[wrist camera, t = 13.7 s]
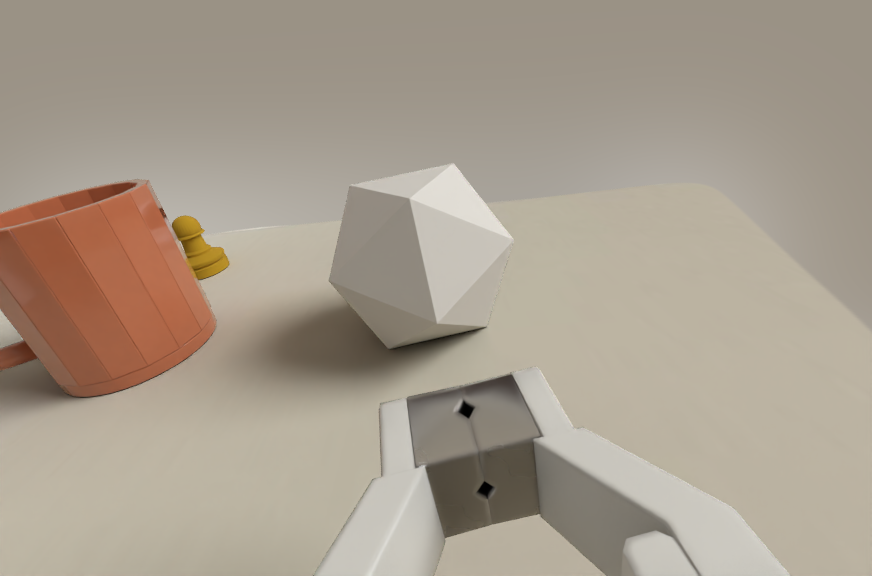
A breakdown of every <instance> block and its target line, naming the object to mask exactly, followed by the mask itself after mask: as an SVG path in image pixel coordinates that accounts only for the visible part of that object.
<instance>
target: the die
mask: <svg viewBox="0 0 872 576" xmlns="http://www.w3.org/2000/svg"><path fill="white" fill-rule="evenodd" d="M513 242H514V239H513V238H512V237H511V236H510V234H509V233H508V232H507V231H506V229H505V228H504V227H503V225H502V224H501V223H500V222H499V220H498V219H497V218H496V217H495V215H494V214H493V213H492V212H491V210H490V209H489V208H488V207H487V205H486V204H485V203H484V202H483V200H482V199H481V198H480V196H479V195H478V194H477V193H476V191H475V190H474V189H473V188H472V186H471V185H470V184H469V183H468V181H467V180H466V179H465V178H464V176H463V175H462V174H461V172H460V171H459V170H458V169H457V167H456V166H455V165H454V164H453V163H452V164H448V165H443V166H438V167H434V168H429V169H425V170H419V171H415V172H410V173H406V174H401V175H396V176H391V177H387V178H382V179H377V180H372V181H368V182H363V183H358V184H354V185H350V187H349V191H348V196H347V200H346V205H345V209H344V214H343V218H342V223H341V228H340V232H339V237H338V241H337V246H336V250H335V255H334V259H333V264H332V268H331V273H330V277H329V282H330V283H331V284H332V285H333V287H334V288H335V289H336V290H337V291H338V292H339V293H340V294H341V296H342V297H343V298H344V299H345V300H346V301H347V302H348V304H349V305H350V306H351V307H352V308H353V309H354V310H355V312H356V313H357V314H358V315H359V316H360V317H361V318H362V319H363V321H364V322H365V323H366V324H367V325H368V326H369V327H370V329H371V330H372V331H373V332H374V333H375V334H376V335H377V337H378V338H379V339H380V340H381V341H382V342H383V343H384V344H385V346H386V347H387V348H388V349H392V348H396V347H400V346H405V345H409V344H414V343H418V342H422V341H427V340H431V339H435V338H440V337H444V336H448V335H453V334H457V333H461V332H466V331H470V330H475V329H479V328H483V327H487V325H488V322H489V319H490V316H491V312H492V309H493V306H494V303H495V300H496V296H497V293H498V290H499V287H500V283H501V280H502V277H503V274H504V271H505V267H506V264H507V261H508V258H509V255H510V251H511V248H512V245H513Z"/></svg>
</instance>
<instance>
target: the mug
mask: <svg viewBox="0 0 872 576" xmlns="http://www.w3.org/2000/svg"><path fill="white" fill-rule="evenodd" d="M0 309H1V311H2V312H3V313H4V315H5V316H6V317H7V319H8V320H9V321H10V322H11V324H12V325H13V326H14V328H15V329H16V330H17V332H18V333H19V334H20V335H21V337H22V338H23V339H24V341H21V342H18V343H15V344H12V345H9V346H6V347H3V348H0V371H3V370H6V369H9V368H12V367H15V366H17V365H20V364H23V363H26V362H29V361H32V360H34V359H37V358H38V359H39V360H40V361H41V363H42V364H43V365H44V367H45V368H46V369H47V370H48V372H49V373H50V374H51V376H52V377H53V378H54V380H55V381H56V382H57V383H58V384H59V386H60V387H61V388H62V389H63V391H64V392H66V393H67V394H69V395H72V396H77V397H91V396H98V395H104V394H108V393H113V392H116V391H120V390H123V389H126V388H129V387H131V386H134V385H137V384H139V383H142V382H144V381H146V380H149V379H151V378H153V377H155V376H157V375H159V374H161V373H163V372H165V371H167V370H168V369H170V368H172V367H174V366H175V365H177V364H178V363H180V362H182V361H183V360H184V359H186V358H187V357H189V356H190V355H191V354H193V353H194V352H195V351H197V350H198V349H199V348H200V347H201V346H202V345H203V344H204V343H205V342H206V341H207V340H208V339H209V338H210V336H211V335H212V334H213V332H214V330H215V327H216V321H217V320H216V317H215V315H214V313H213V311H212V309H211V305H210V303H209V301H208V299H207V297H206V295H205V293H204V291H203V289H202V287H201V285H200V283H199V281H198V279H197V276H196V274H195V272H194V270H193V268H192V266H191V264H190V262H189V260H188V258H187V256H186V254H185V252H184V250H183V248H182V246H181V244H180V242H179V240H178V238H177V236H176V234H175V232H174V230H173V228H172V226H171V224H170V222H169V220H168V218H167V216H166V214H165V212H164V210H163V208H162V206H161V204H160V202H159V200H158V198H157V196H156V194H155V192H154V190H153V188H152V186H151V184H150V182H149V181H148V180H142V179H141V180H140V179H135V180H128V181H120V182H115V183H110V184H105V185H100V186H95V187H91V188H86V189H82V190H78V191H74V192H70V193H66V194H62V195H58V196H54V197H51V198H47V199H43V200H40V201H37V202H33V203H29V204H26V205H23V206H19V207H16V208H13V209H10V210H7V211H3V212H0Z"/></svg>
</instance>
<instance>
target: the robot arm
mask: <svg viewBox="0 0 872 576" xmlns="http://www.w3.org/2000/svg"><path fill="white" fill-rule="evenodd" d="M379 428H380V454H381V477H378V478H374V479H372V481H371V483H370V484H369V486H368V487H367V489H366V491H365V492H364V494H363V496H362V497H361V499H360V500H359V502H358V504H357V505H356V507H355V508H354V510H353V512H352V513H351V515H350V516H349V518H348V520H347V521H346V523H345V525H344V526H343V528H342V529H341V531H340V533H339V534H338V536H337V537H336V539H335V541H334V542H333V544H332V546H331V547H330V549H329V550H328V552H327V554H326V555H325V557H324V558H323V560H322V562H321V563H320V565H319V566H318V568H317V570H316V571H315V573H314V575H313V576H434V575H435V572H436V569H437V566H438V563H439V560H440V557H441V554H442V551H443V548H444V545H445V542H446V541H445V538H447V537H451V536H454V535H457V534H461V533H464V532H468V531H471V530H475V529H478V528H482V527H485V526H489V525H492V524H497V523H501V522H506V521H510V520H515V519H519V518H524V517H528V516H532V515H537V514H540V515H541V517H542V518H543V519H544V520H545V521H546V522H547V523H549V524H550V525H551V526H552V527H553V528H554V529H555V530H556V531H557V532H559V533H560V534H561V535H562V536H563V537H564V538H565V539H566V540H567V541H569V542H570V543H571V544H572V545H573V546H574V547H575V548H576V549H577V550H578V551H580V552H581V553H582V554H583V555H584V556H585V557H586V558H587V559H588V560H590V561H591V562H592V563H593V564H594V565H595V566H596V567H597V568H598V569H600V570H601V571H602V572H603V573H604V574H605V575H606V576H791V575H790V574H789V573H788V572H787V571H786V569H785V568H784V567H783V566H782V565H781V564H780V562H779V561H778V560H777V559H776V558H775V556H774V555H773V554H772V553H771V552H770V550H769V549H768V548H767V547H766V546H765V544H764V543H763V542H762V541H761V540H760V539H759V537H758V536H757V535H756V534H755V533H754V531H753V530H752V529H751V528H750V527H749V525H748V524H747V523H746V522H745V521H744V519H743V518H742V517H741V516H740V515H739V514H738V512H737V511H736V510H735V509H734V508H733V507H731V506H729V505H727V504H725V503H724V502H722V501H720V500H718V499H716V498H714V497H712V496H711V495H709V494H707V493H705V492H703V491H701V490H699V489H698V488H696V487H694V486H692V485H690V484H688V483H686V482H684V481H683V480H681V479H679V478H677V477H675V476H673V475H671V474H670V473H668V472H666V471H664V470H662V469H660V468H658V467H657V466H655V465H653V464H651V463H649V462H647V461H645V460H644V459H642V458H640V457H638V456H636V455H634V454H632V453H630V452H629V451H627V450H625V449H623V448H621V447H619V446H617V445H616V444H614V443H612V442H610V441H608V440H606V439H604V438H603V437H601V436H599V435H597V434H595V433H593V432H591V431H590V430H588V429H586V428H584V427H581V428H577V429H574V427H573V425H572V424H571V422H570V420H569V418H568V417H567V415H566V413H565V412H564V410H563V408H562V407H561V405H560V403H559V402H558V400H557V398H556V396H555V395H554V393H553V391H552V390H551V388H550V386H549V385H548V383H547V381H546V379H545V378H544V376H543V374H542V373H541V371H540V369H539V368H537V367H535V366H534V367H531V368H527V369H523V370H519V371H515V372H511V373H510V374H505V375H501V376H497V377H493V378H489V379H485V380H481V381H477V382H473V383H469V384H465V385H461V386H456V387H452V388H447V389H442V390H438V391H433V392H428V393H424V394H419V395H414V396H410V397H407V398H403V399H398V400H393V401H389V402H384V403H380V407H379Z"/></svg>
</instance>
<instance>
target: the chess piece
mask: <svg viewBox="0 0 872 576" xmlns="http://www.w3.org/2000/svg"><path fill="white" fill-rule="evenodd" d="M172 228H173V230H174V232H175V234H176V236H177V238H178V240H179V241H181V243H182V245H183V248H184V251H185V254H186V256H187V258H188V260H189V262H190V264H191V266H192V268H193V270H194V272H195V274H196V276H197V279H198V280H200V279H204V278H207V277H210V276H212V275H215V274H217V273H219V272H221V271H222V270H224V269H225V268H226V267H227V266H228V265H229V261H228V259H227V256H226V255H225V254H224V249H223V248H221V247H211V246H210V245H207V244H206V243H205V241H204V239H203V238H202V236H201V233H203V232H204V229H202V228H201V226H200V224H199V222H198V221H197V220H196V219H195V218H193V217H190V216H180V217H178V218H176V219H175V220H174V222H173V223H172Z"/></svg>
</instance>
